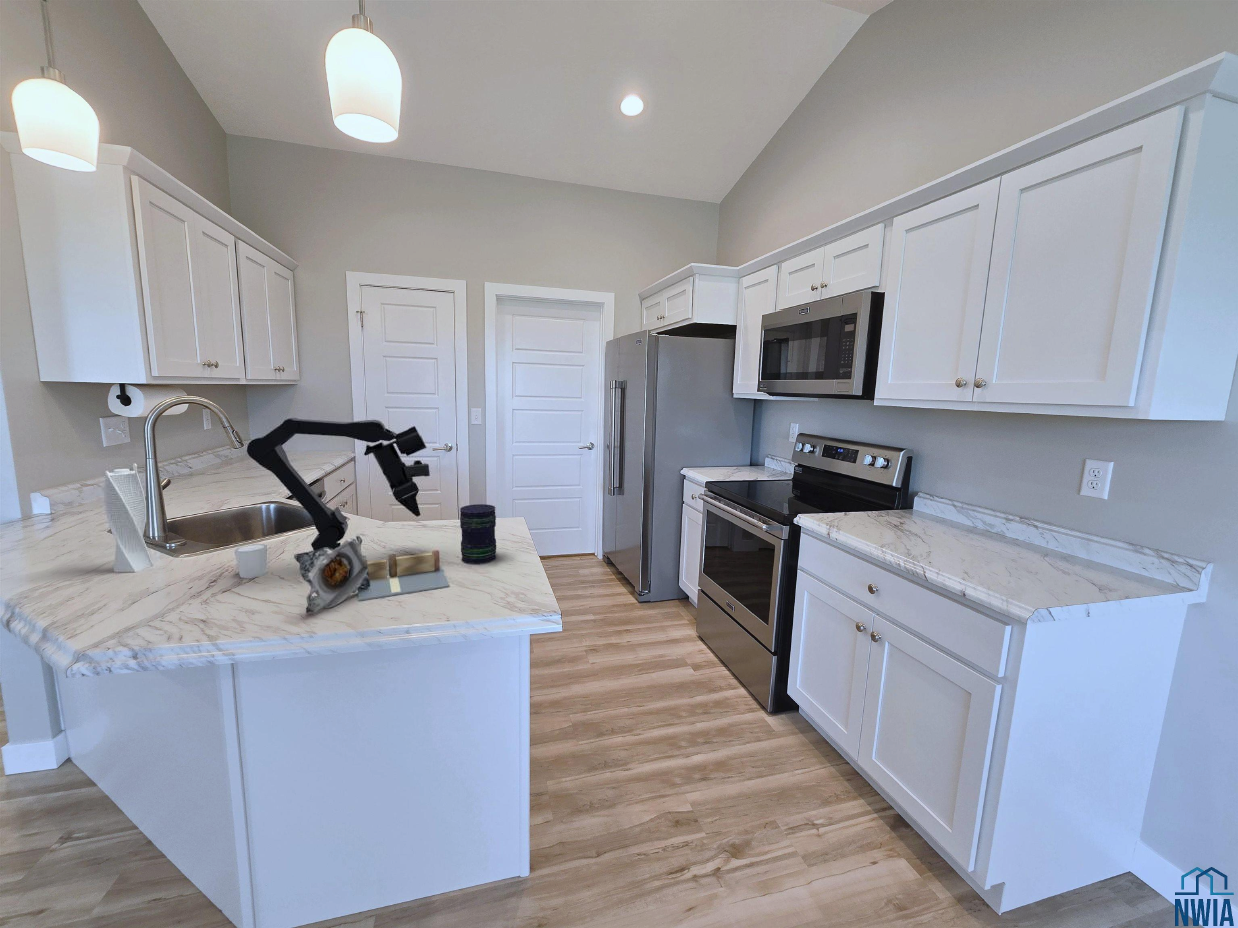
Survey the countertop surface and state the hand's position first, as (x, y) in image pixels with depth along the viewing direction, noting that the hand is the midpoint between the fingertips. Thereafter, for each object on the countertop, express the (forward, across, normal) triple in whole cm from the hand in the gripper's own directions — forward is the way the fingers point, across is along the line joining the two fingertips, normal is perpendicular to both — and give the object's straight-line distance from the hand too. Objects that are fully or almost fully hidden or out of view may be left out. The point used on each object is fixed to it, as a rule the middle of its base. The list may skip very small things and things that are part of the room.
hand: (417, 512), depth 141 cm
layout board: (+11, -15, +10) cm, 21 cm away
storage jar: (+19, -6, -9) cm, 22 cm away
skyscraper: (-15, +23, +67) cm, 72 cm away
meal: (+6, -22, +24) cm, 33 cm away
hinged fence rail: (+11, -12, +7) cm, 18 cm away
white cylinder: (-3, +6, +42) cm, 42 cm away
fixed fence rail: (+8, -12, +16) cm, 22 cm away
